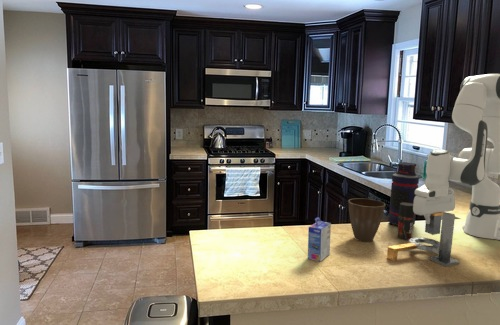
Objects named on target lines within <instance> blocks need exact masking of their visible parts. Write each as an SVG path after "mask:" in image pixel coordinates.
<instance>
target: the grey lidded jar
mask: <svg viewBox="0 0 500 325" xmlns="http://www.w3.org/2000/svg"><path fill="white" fill-rule="evenodd" d="M442 215H443V212H439V213H433V214H431V216H429V217H430V220H432V223H431V224H426V223H425V226H424V227H425V228H424V232H425V233H426V234H430V235H432V236H435V235H439V234H440V235H441V226H442V218H441V216H442Z"/></svg>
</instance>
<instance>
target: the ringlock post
mask: <svg viewBox="0 0 500 325" xmlns="http://www.w3.org/2000/svg"><path fill="white" fill-rule="evenodd" d="M455 218H456V215H455V213H450V212H444V213H443V217H442V218H441V227H440V237H439V241H438V240H436V239H432V238H428V237H419V236H416V237H412V238H410V239H409V240H408V242H407V243H401V244H394V245H389V246H387V256H386V259H388V260H391V261H398V255H399V252H404V251H410V250H420V251H425V252H432V253H434V254H437V255H434V256H433V255H432V256H430V257H429V258H428V260H430V261H431V260H432V262H435V263H436V264H439V265H441V266H443V267H451V266H454V265H459V264H460V261H459V260H458V259H455V258H453V257H452V245H453V238H454V237H453V236H454V229H455V221H456V220H455ZM420 243H422V244H420Z"/></svg>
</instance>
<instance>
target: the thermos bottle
mask: <svg viewBox="0 0 500 325" xmlns="http://www.w3.org/2000/svg"><path fill="white" fill-rule="evenodd" d="M417 168H418V172H419V173H418V174H417ZM420 173H421V170H420V167H419V166H417V163H414V162H406V161H403V162H398V165H397V171H396V172H395V173H392V177H391V185H390V186H391V188H390V198H389V199H390V200H389V213H388V222H389V223H388V224H389V225H395V226H398V221H399V210H400V203H403V202H405V203H412V204H414V198H415V196H416V194H415V190H416V189H417V188H419V184H420V183H419V182H420V181H419V180H420V177H419V175H421V174H420ZM415 224H416V214H415V213H414V220H413V227H414V225H415Z"/></svg>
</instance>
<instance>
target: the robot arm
mask: <svg viewBox="0 0 500 325" xmlns="http://www.w3.org/2000/svg"><path fill="white" fill-rule="evenodd" d="M451 120H452V122H453V123H454V125H455V126H456V127H458V128H459V129H460V130H462V131H464V132H467V133H468V134H470V136H471V138H472V142H471V143H472V144H471V147H466V148H465V147H464V148H463V149H462V150H461V151H460V152H459V153H458V156H457V157H455V156H453V155H451V152H450V151H449V150H447V149H433V150H431V151H430V152H429V153H428V157H427V160H426V166H425V173H426V177H425V180H424V184H423V185H421V186H420V187H419V186H418V188H417V189H416V190H415V194H416V196H415V198H414V204H413V212H414V213H415V215H417V216H423V217H424V219H425V225H426V224H431V223H432V220H430V217H429V216H431V214H433V213H439V212H443V213H448V212H451V211H454V210H455V208H456V195H455V191H454V189H453V188H451V187H450V182H449V181H451V182H456V183H461V184H464V185H468V186H471V188H472V189H471V201H470V202H469V211H467V215H466V218H465V223H464V225H463V226H462V229H463V232H464V233H466V234H468V235H470V236H473V237H478V238H481V239H491V240H497V241H500V185H499V184H498V183H496V182H495V181H492V180H491V179H490V178H489V176H488V174H492V175H494V174H495V175H500V73H487V74H479V75H470V76H467V77H465V78H464V80H463V81H462V82H461V84H460V87H459V93H458V96H457V97H456V100H455V102H454V107H453V110H452V114H451ZM488 142H490V143H492V145H493V148H487V145H488V144H487V143H488ZM449 187H450V188H449ZM442 217H443V215H442V216H441V219H442Z"/></svg>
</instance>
